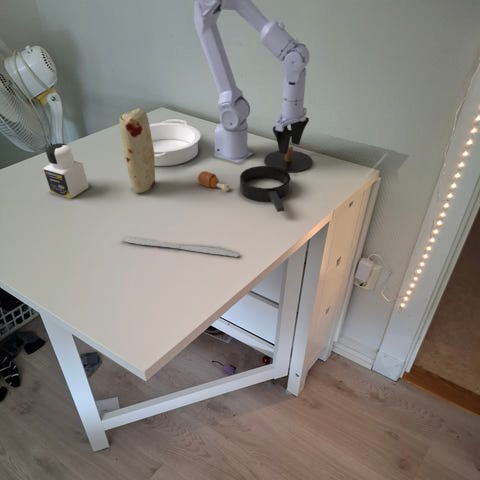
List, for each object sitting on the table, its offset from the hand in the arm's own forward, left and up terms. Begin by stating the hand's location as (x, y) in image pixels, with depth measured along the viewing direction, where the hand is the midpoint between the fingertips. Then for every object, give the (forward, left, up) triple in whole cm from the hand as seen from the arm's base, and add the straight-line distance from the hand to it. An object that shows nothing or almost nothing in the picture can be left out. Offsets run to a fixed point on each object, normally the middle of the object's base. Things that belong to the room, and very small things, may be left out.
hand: (289, 148), depth 126 cm
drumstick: (-10, -24, -5) cm, 26 cm away
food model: (-26, -34, -5) cm, 43 cm away
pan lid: (0, 0, -4) cm, 4 cm away
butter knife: (0, -51, -5) cm, 51 cm away
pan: (+2, -18, -5) cm, 19 cm away
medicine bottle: (-42, -46, -5) cm, 63 cm away
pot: (-36, -13, -5) cm, 39 cm away
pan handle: (+10, -26, -2) cm, 28 cm away
